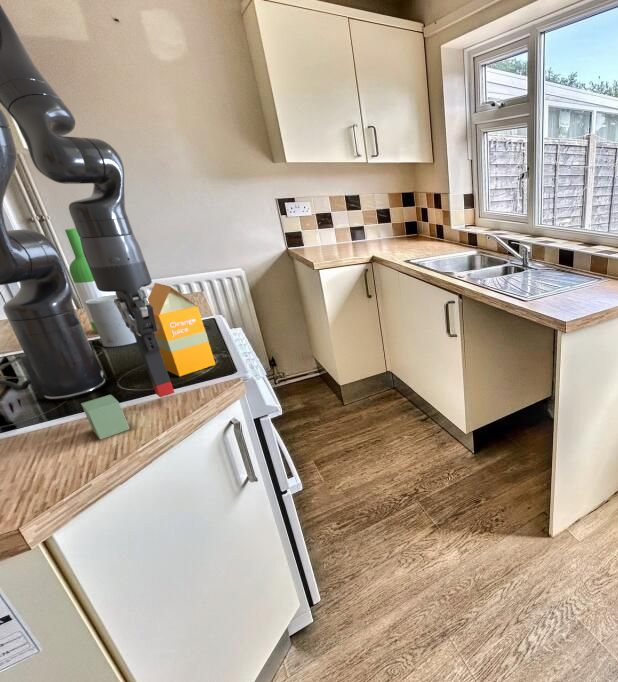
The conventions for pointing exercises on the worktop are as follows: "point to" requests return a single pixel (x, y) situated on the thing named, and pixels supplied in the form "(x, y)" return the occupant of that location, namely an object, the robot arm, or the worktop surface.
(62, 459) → the worktop surface
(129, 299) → the robot arm
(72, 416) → the worktop surface
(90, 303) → the grey speckled cylinder
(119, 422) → the block
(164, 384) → the marker
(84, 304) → the wine bottle
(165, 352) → the orange juice
